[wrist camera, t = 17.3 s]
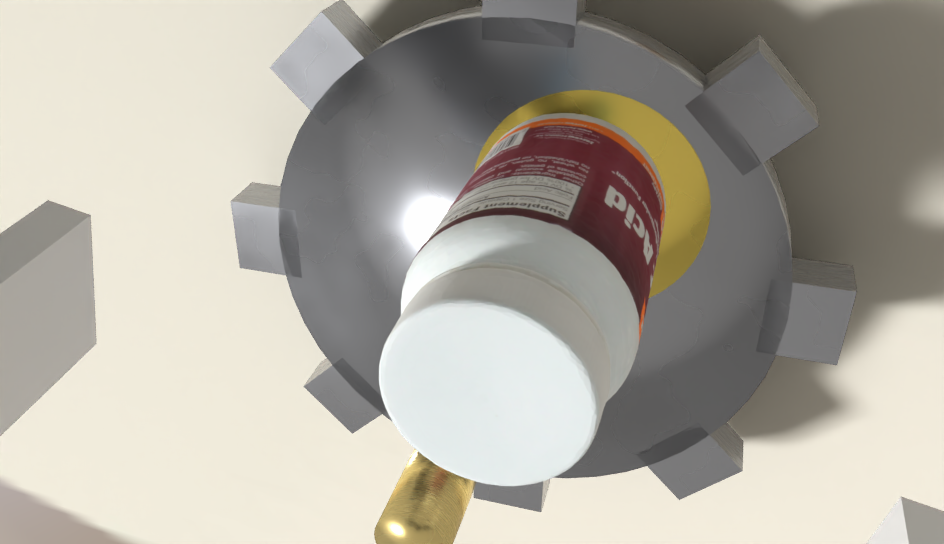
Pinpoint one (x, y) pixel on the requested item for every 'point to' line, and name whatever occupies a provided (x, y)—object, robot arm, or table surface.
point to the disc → (454, 162)
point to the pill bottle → (527, 303)
